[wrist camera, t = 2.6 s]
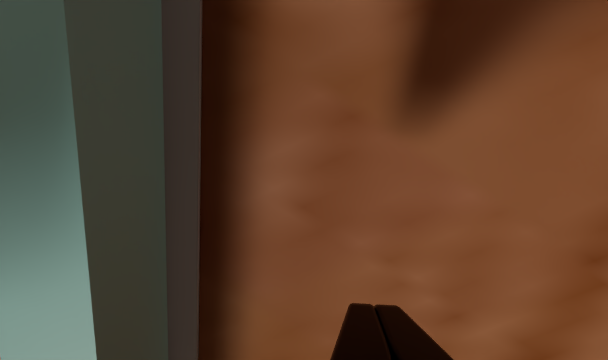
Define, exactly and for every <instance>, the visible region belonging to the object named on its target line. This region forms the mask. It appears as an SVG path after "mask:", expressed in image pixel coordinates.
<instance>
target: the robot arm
mask: <svg viewBox="0 0 608 360" xmlns="http://www.w3.org/2000/svg"><path fill="white" fill-rule="evenodd" d="M330 360H453V359H452V358H451V357H450V356H449V355H448V354H447V353H446V352H445V351H444V350H443V349H442V348H441V347H440V346H439V345H438V344H437V343H436V342H435V341H434V340H433V339H432V338H431V337H430V336H429V335H428V334H427V333H426V332H425V331H424V330H423V329H421V328H420V327H419V326H418V325H417V324H416V323H415V322H414V321H413V320H412V319H411V318H410V317H409V316H408V315H407V314H406V313H405V312H404V311H403V310H402V309H401V308H400V307H398V306H395V305H375V306H373V305H371V304H359V303H352V304H350V305H349V307H348V310H347V313H346V316H345V318H344V321H343V324H342V327H341V330H340V333H339V336H338V339H337V342H336V345H335V348H334V351H333V353H332V356H331V359H330Z"/></svg>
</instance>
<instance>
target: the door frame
mask: <svg viewBox="0 0 608 360" xmlns="http://www.w3.org/2000/svg"><path fill="white" fill-rule="evenodd" d="M161 14H162V65H163V116H164V167H165V219H166V270H167V321H168V360H198V343H199V254H200V164H201V75H202V0H161Z"/></svg>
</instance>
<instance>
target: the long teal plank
mask: <svg viewBox="0 0 608 360" xmlns="http://www.w3.org/2000/svg"><path fill="white" fill-rule="evenodd" d="M0 357H1V360H168V321H167V270H166V219H165V167H164V116H163V65H162V14H161V0H0Z"/></svg>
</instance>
